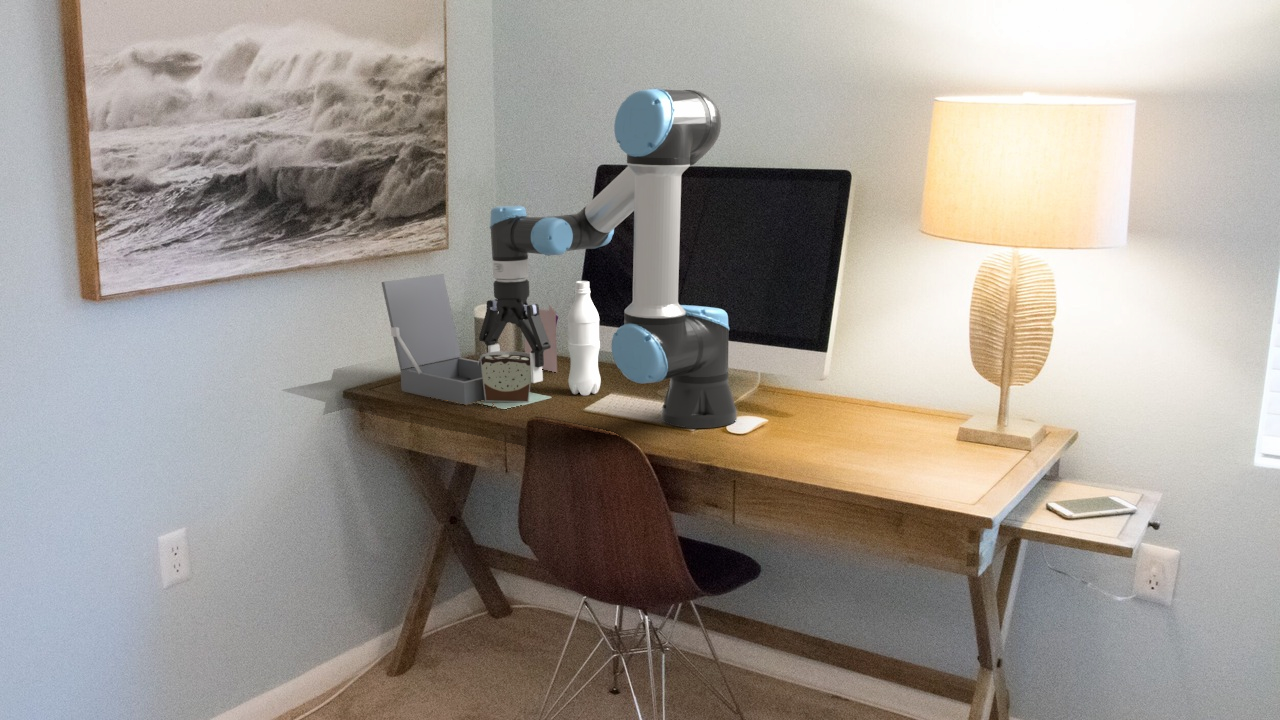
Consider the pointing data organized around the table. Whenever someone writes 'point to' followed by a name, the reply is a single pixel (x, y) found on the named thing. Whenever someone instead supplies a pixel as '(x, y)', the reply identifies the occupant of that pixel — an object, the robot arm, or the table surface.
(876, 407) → the table surface
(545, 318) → the greeting card
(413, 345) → the case
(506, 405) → the mat
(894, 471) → the table surface
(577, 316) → the water bottle
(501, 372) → the food container
